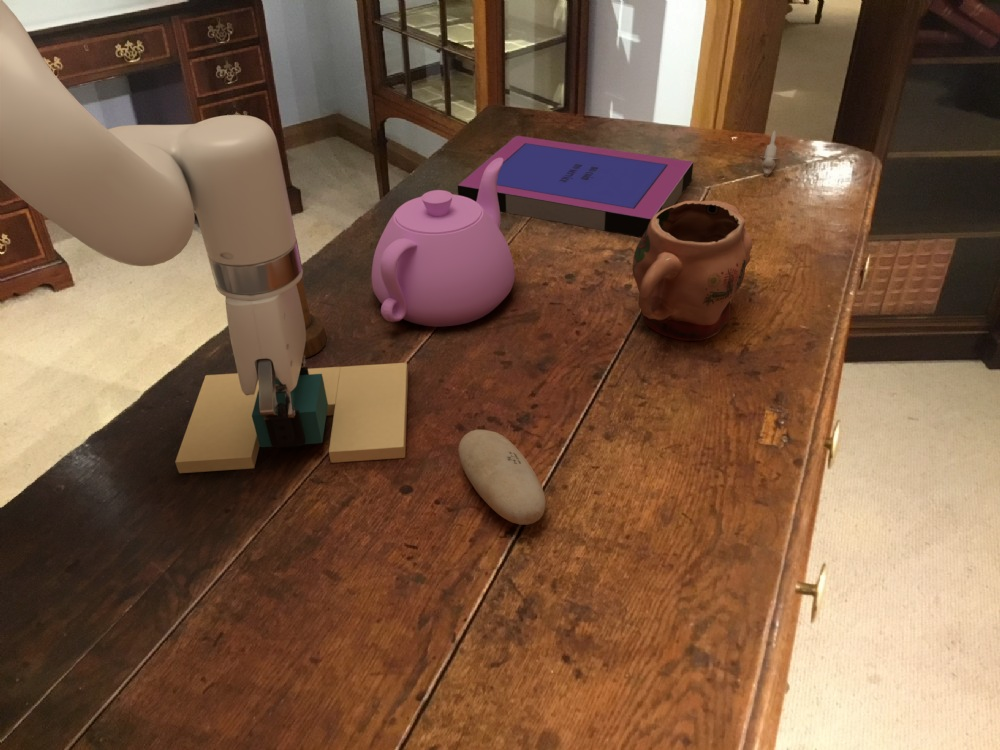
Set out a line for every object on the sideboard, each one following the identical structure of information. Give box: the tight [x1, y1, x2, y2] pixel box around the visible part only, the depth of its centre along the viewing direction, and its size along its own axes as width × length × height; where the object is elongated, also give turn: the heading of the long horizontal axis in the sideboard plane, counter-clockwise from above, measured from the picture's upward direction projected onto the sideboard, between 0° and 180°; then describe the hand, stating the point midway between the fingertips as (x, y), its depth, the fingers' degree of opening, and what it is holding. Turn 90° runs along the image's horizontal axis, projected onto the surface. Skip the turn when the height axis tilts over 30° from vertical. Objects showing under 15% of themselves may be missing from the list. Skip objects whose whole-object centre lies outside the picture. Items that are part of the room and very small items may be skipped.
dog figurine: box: [758, 130, 781, 178], centre depth 134 cm, size 3×8×6 cm
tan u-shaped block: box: [174, 362, 409, 474], centre depth 88 cm, size 22×14×2 cm, turn 94°
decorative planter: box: [632, 200, 753, 342], centre depth 96 cm, size 20×12×14 cm, turn 147°
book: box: [457, 135, 694, 238], centre depth 130 cm, size 21×3×30 cm
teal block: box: [252, 374, 328, 448], centre depth 84 cm, size 6×6×4 cm
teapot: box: [371, 158, 516, 328], centre depth 104 cm, size 25×18×14 cm
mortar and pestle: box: [296, 277, 327, 359], centre depth 94 cm, size 7×6×18 cm
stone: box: [458, 429, 547, 526], centre depth 78 cm, size 6×6×12 cm
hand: (293, 420), depth 85 cm, fingers closed on teal block, 6 cm apart
